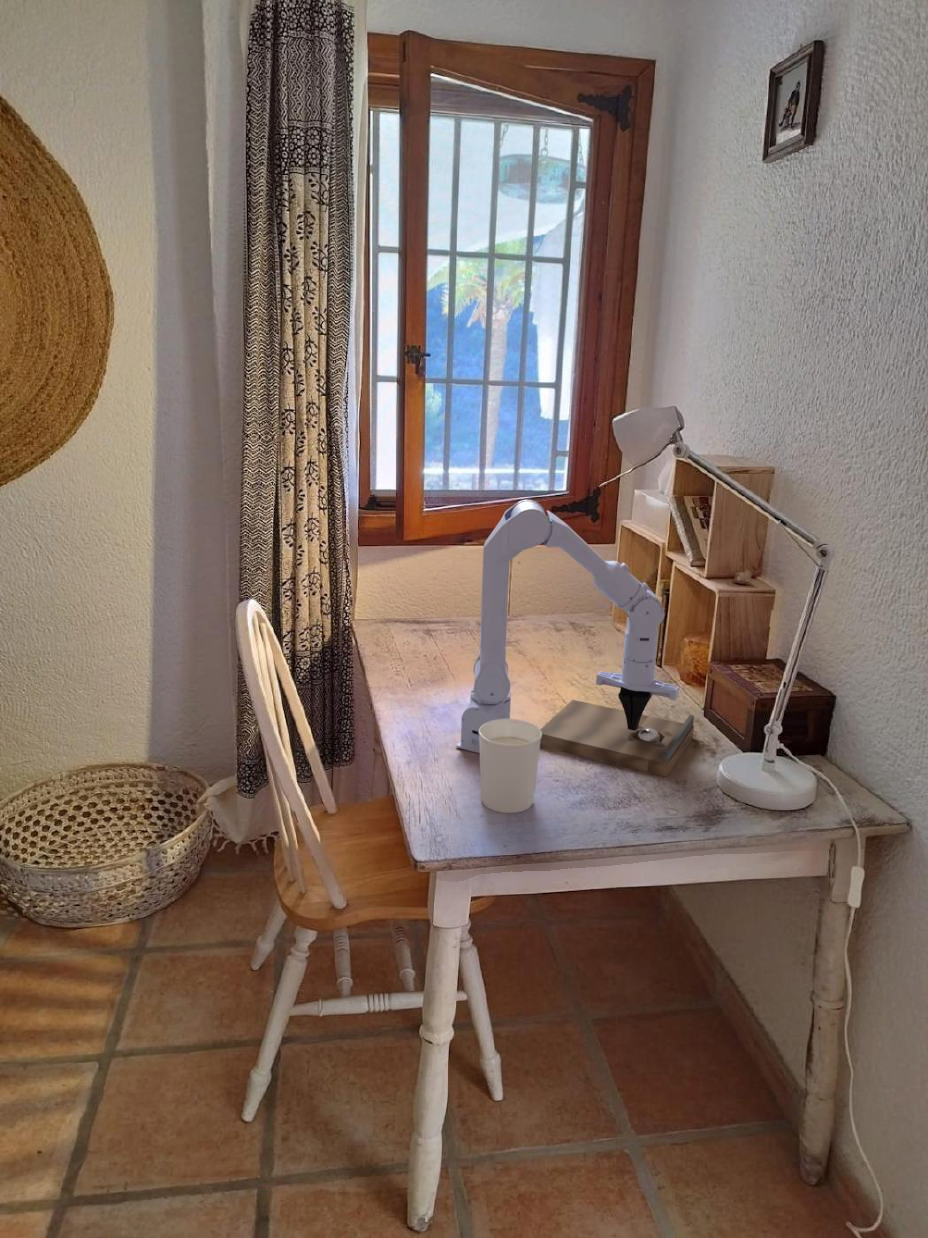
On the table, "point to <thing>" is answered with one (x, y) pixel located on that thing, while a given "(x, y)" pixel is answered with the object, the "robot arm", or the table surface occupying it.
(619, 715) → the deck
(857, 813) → the table surface
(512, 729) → the candle holder
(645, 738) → the ball
